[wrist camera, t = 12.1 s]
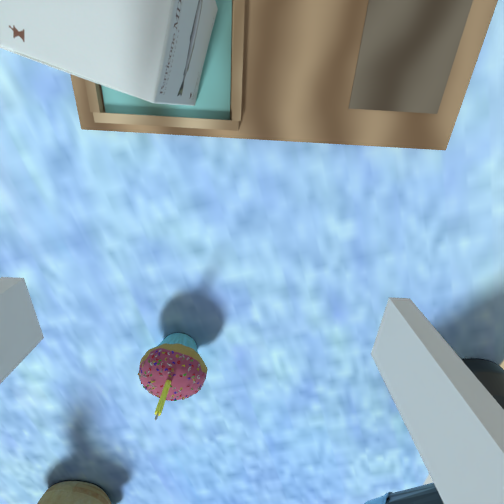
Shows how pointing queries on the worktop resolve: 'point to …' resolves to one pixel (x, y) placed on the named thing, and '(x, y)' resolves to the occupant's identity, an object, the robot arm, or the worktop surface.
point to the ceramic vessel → (74, 494)
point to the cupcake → (172, 369)
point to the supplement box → (116, 42)
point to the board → (318, 74)
